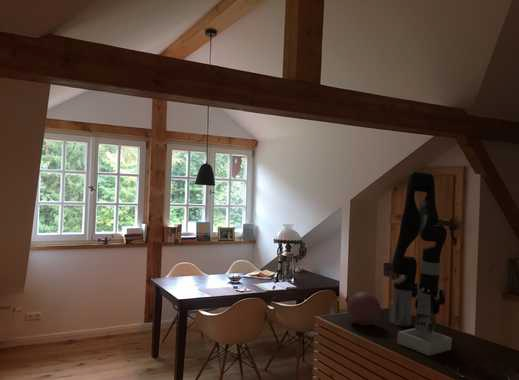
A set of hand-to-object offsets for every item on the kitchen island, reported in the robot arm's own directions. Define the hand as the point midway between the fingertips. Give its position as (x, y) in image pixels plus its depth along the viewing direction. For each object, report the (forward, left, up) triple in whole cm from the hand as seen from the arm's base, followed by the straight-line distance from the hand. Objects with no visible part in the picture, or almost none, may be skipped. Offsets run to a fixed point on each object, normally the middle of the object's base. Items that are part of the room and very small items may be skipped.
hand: (426, 311), depth 186 cm
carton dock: (0, 0, -15) cm, 15 cm away
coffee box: (0, 0, -8) cm, 8 cm away
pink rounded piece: (-34, -1, -15) cm, 37 cm away
